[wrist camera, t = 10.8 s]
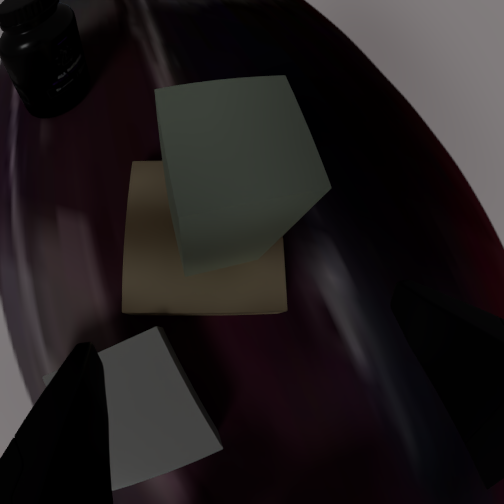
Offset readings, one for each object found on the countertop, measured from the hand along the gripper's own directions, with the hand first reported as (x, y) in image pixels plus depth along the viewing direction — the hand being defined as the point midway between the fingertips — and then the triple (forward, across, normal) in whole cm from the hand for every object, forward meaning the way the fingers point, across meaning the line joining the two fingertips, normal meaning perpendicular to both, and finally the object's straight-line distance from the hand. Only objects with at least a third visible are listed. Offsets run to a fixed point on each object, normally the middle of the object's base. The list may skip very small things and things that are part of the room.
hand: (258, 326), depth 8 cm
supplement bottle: (+26, +12, -7) cm, 29 cm away
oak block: (+14, 0, +5) cm, 15 cm away
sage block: (+12, 0, +3) cm, 12 cm away
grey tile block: (+7, +6, +12) cm, 15 cm away
